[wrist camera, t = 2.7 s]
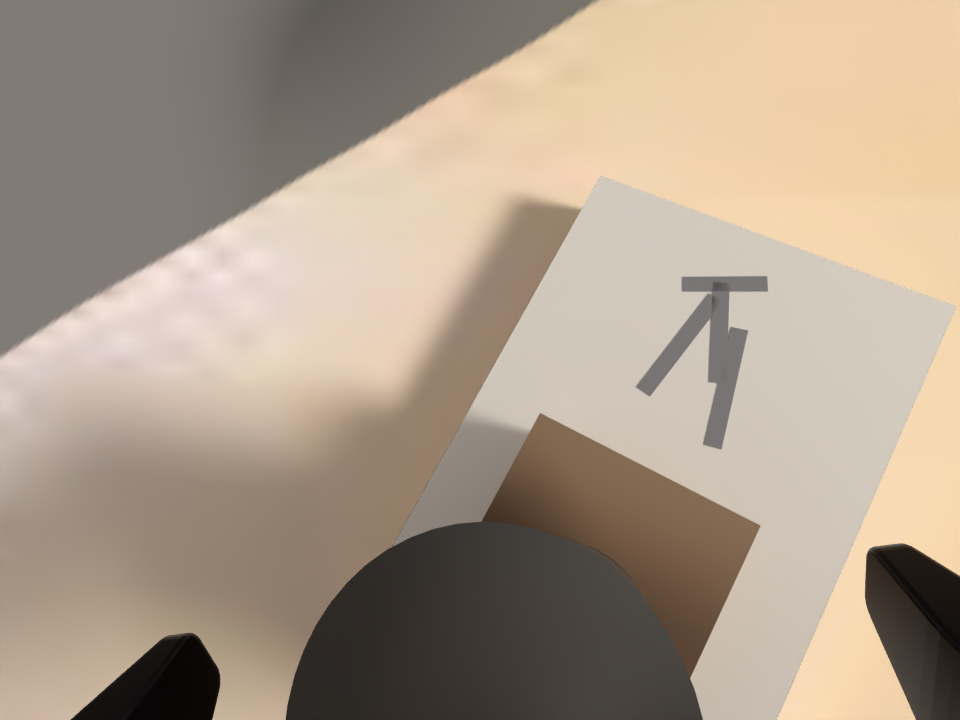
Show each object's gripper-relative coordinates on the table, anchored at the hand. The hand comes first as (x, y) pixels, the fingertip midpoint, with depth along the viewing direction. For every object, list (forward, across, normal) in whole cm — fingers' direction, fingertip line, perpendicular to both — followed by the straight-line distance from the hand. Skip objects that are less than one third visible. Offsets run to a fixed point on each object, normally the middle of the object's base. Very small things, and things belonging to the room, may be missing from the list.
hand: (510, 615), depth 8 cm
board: (+8, -2, +5) cm, 9 cm away
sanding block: (+4, 0, +5) cm, 7 cm away
